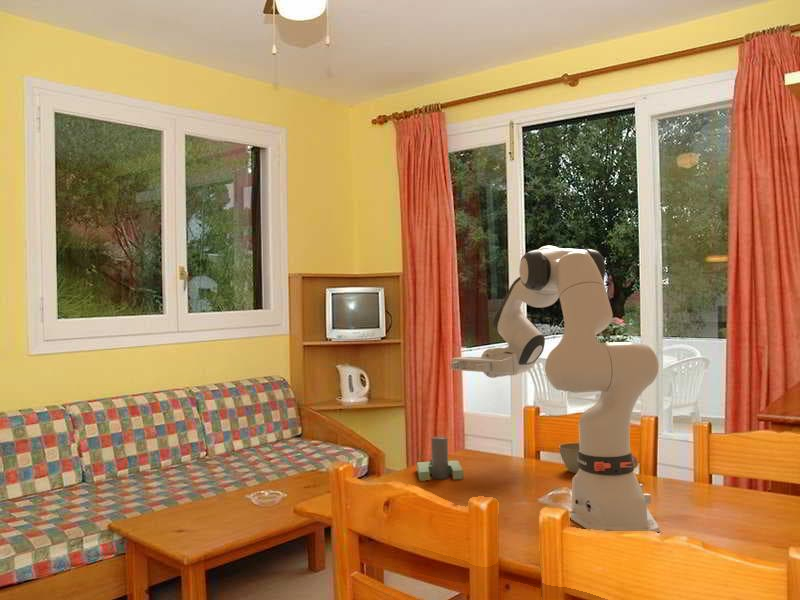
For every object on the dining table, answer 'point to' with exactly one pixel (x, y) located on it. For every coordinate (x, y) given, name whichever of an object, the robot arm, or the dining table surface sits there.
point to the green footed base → (426, 470)
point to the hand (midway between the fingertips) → (463, 367)
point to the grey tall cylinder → (439, 457)
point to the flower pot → (570, 456)
